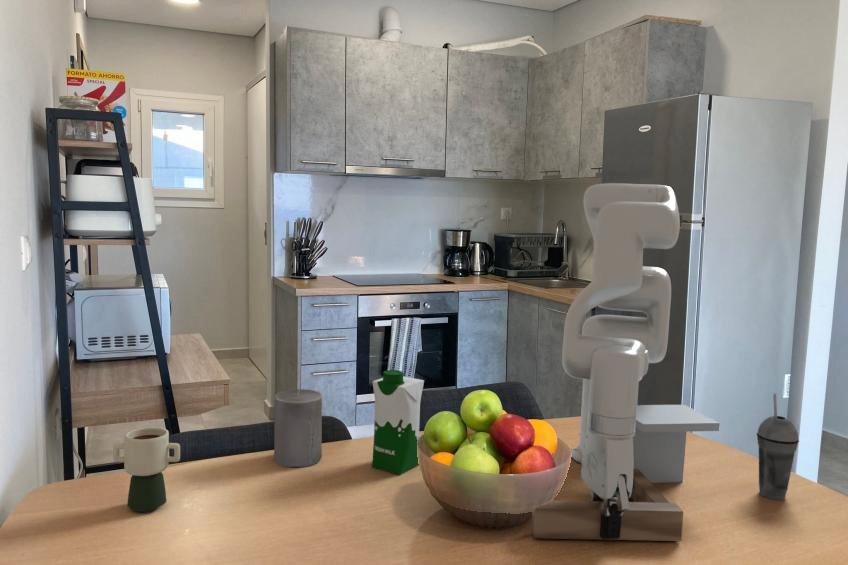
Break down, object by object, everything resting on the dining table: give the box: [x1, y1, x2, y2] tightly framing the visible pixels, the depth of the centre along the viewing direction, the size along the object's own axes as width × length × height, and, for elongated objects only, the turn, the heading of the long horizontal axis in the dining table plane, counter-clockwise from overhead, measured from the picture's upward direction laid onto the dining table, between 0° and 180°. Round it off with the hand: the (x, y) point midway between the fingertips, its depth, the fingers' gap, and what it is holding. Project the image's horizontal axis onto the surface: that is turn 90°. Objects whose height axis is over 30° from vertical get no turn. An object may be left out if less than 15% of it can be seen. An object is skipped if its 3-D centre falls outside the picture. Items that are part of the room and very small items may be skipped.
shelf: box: [632, 404, 720, 484], centre depth 132 cm, size 12×15×16 cm
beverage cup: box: [756, 393, 800, 501], centre depth 132 cm, size 7×7×20 cm
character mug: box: [112, 426, 181, 512], centre depth 117 cm, size 11×7×13 cm, turn 97°
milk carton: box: [371, 369, 425, 476], centre depth 140 cm, size 9×9×20 cm
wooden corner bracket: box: [530, 469, 684, 542], centre depth 121 cm, size 21×24×5 cm
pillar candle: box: [273, 388, 323, 468], centre depth 142 cm, size 10×10×15 cm
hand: (604, 530), depth 112 cm, fingers closed on wooden corner bracket, 3 cm apart
